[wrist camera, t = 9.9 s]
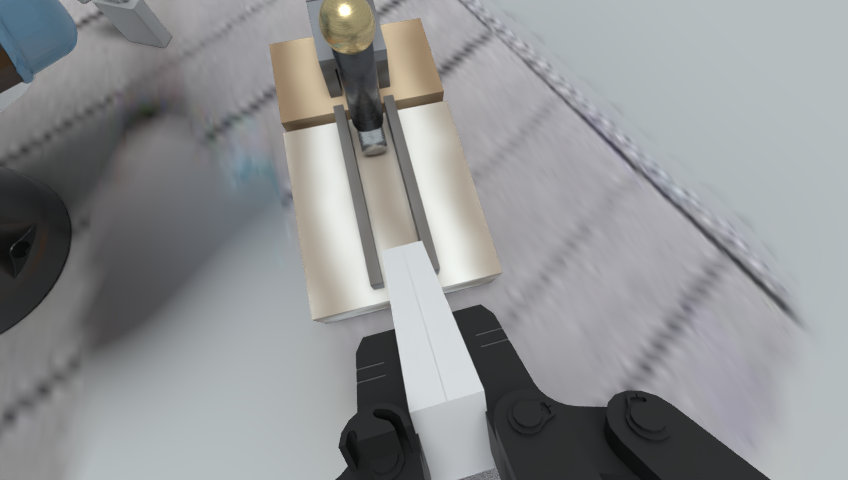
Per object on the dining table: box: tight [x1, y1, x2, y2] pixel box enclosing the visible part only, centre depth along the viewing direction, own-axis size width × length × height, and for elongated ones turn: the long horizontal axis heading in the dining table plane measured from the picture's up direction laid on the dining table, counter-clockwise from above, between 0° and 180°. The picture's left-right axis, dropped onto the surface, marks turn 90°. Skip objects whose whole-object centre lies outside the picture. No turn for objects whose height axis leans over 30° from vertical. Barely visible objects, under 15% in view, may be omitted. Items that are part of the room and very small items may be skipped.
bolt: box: [318, 0, 387, 155], centre depth 24 cm, size 3×12×12 cm, turn 14°
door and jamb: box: [269, 0, 502, 324], centre depth 28 cm, size 14×25×8 cm, turn 14°
